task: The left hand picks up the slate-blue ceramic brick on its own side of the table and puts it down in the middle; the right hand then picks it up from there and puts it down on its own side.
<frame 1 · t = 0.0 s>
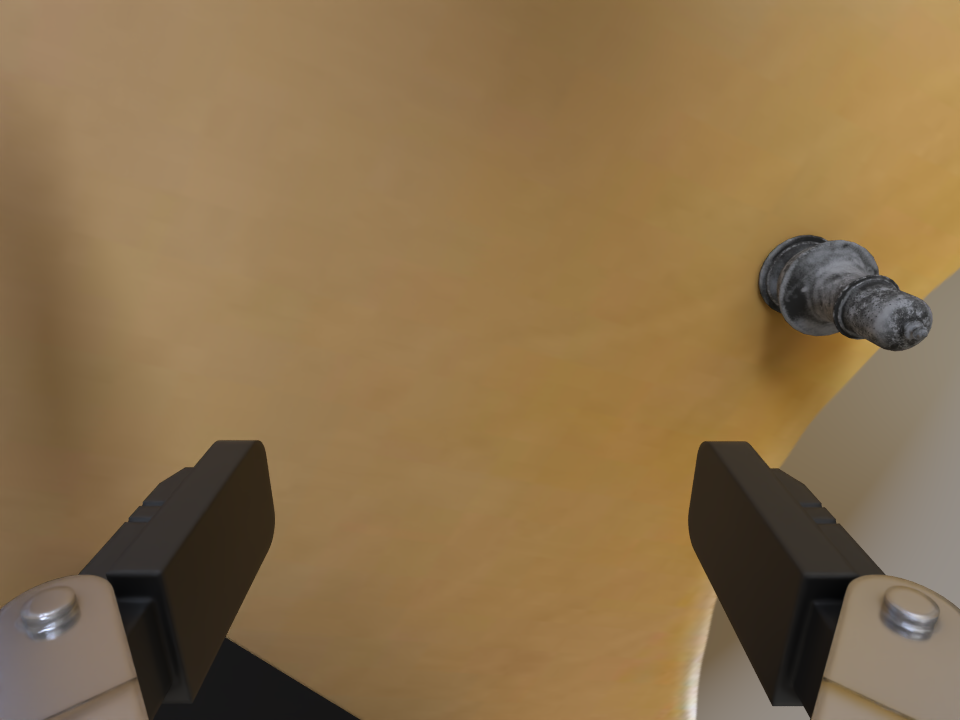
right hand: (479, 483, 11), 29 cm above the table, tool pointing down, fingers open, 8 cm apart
grey chess piece: (798, 275, 40), on the table
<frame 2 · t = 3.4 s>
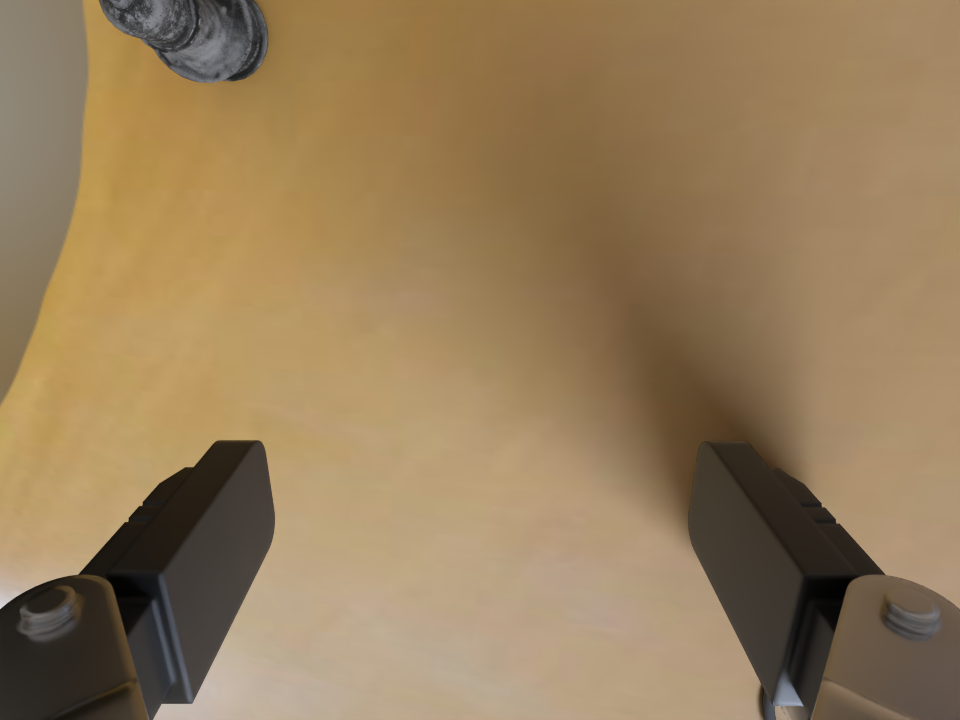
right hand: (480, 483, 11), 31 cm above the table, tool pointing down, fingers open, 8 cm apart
grey chess piece: (224, 33, 36), on the table
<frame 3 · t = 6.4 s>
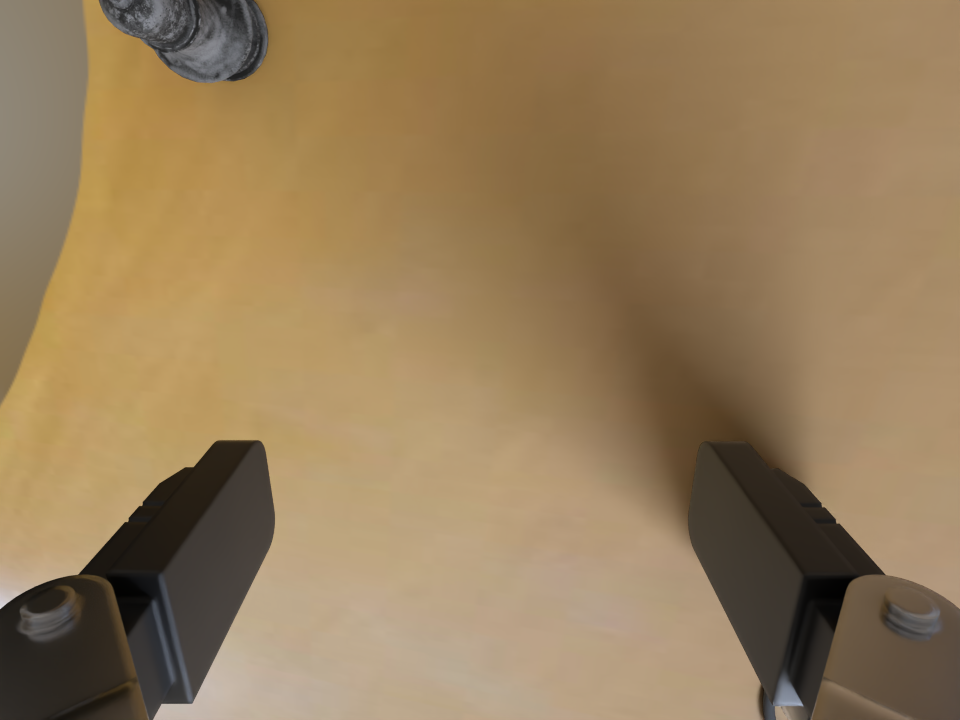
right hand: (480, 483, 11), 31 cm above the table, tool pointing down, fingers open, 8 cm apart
grey chess piece: (224, 33, 36), on the table
when the left hand's fingers open (2 cm above the table, at t = 9.6 s): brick stays where it is, on the table.
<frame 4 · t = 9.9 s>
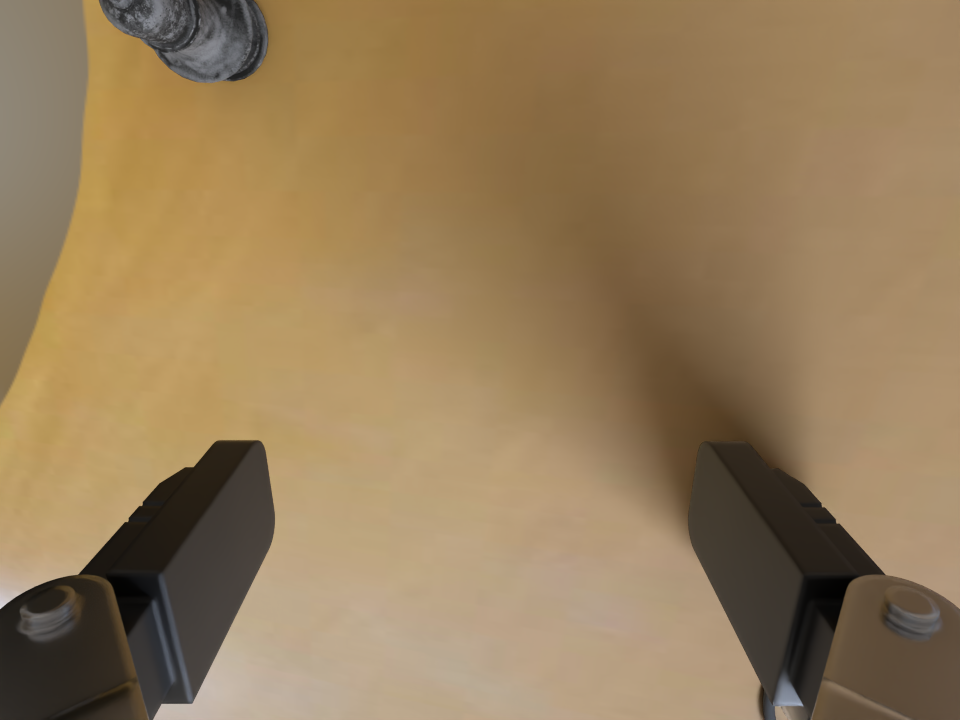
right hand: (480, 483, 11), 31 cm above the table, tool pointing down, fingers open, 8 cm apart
grey chess piece: (224, 33, 36), on the table
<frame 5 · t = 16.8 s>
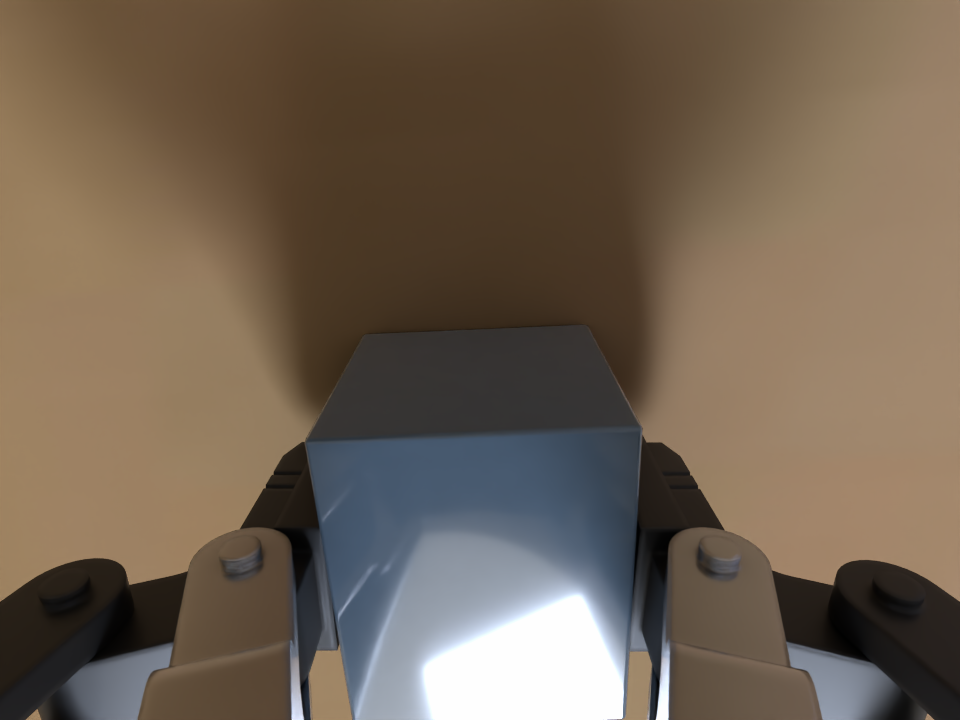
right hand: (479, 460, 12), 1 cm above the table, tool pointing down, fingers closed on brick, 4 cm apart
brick: (481, 447, 12), on the table, touching right hand
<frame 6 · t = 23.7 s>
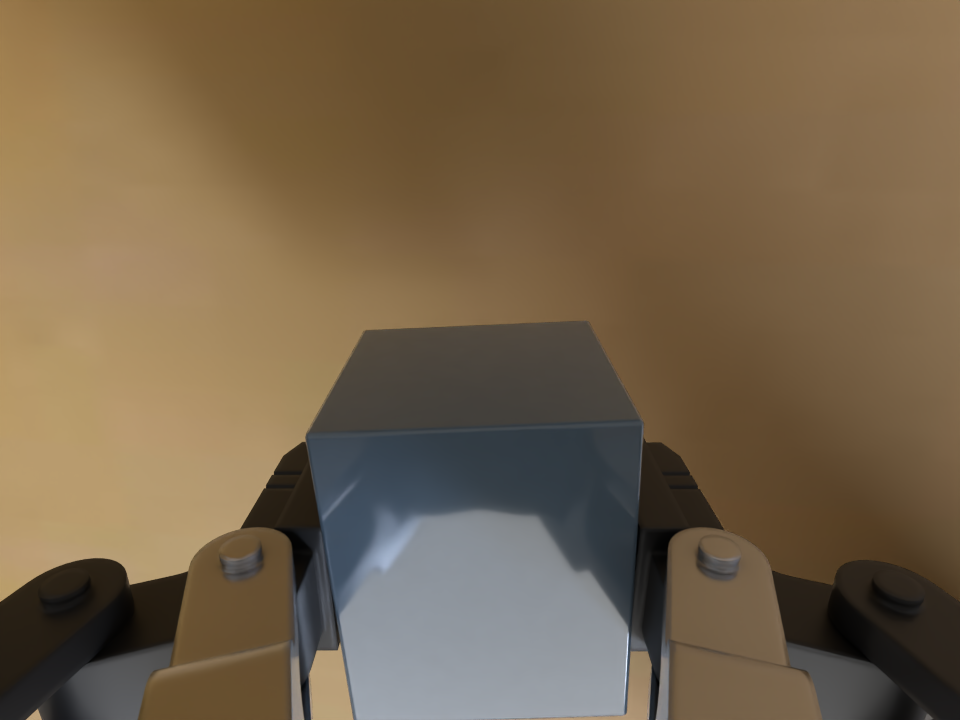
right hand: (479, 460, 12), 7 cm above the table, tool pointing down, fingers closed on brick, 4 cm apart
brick: (481, 444, 12), point 6 cm above the table, tilted 5°, touching right hand
when the right hand's fingers open (1 cm above the table, at t = 30.6 s): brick stays where it is, on the table.
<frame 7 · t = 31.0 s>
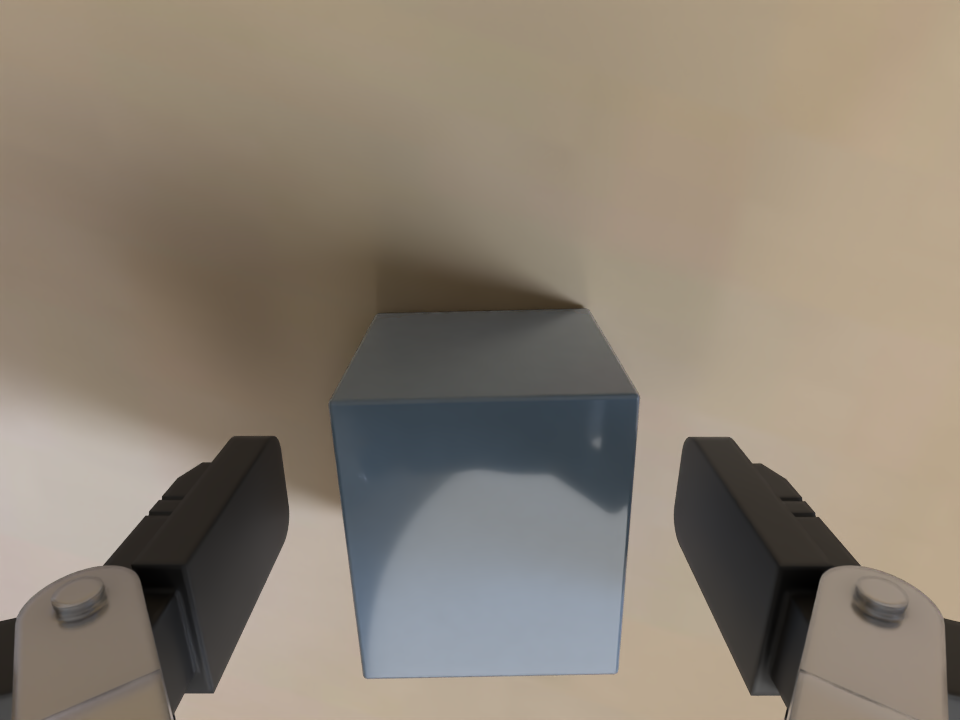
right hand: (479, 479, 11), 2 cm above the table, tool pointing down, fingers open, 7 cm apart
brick: (485, 424, 13), on the table
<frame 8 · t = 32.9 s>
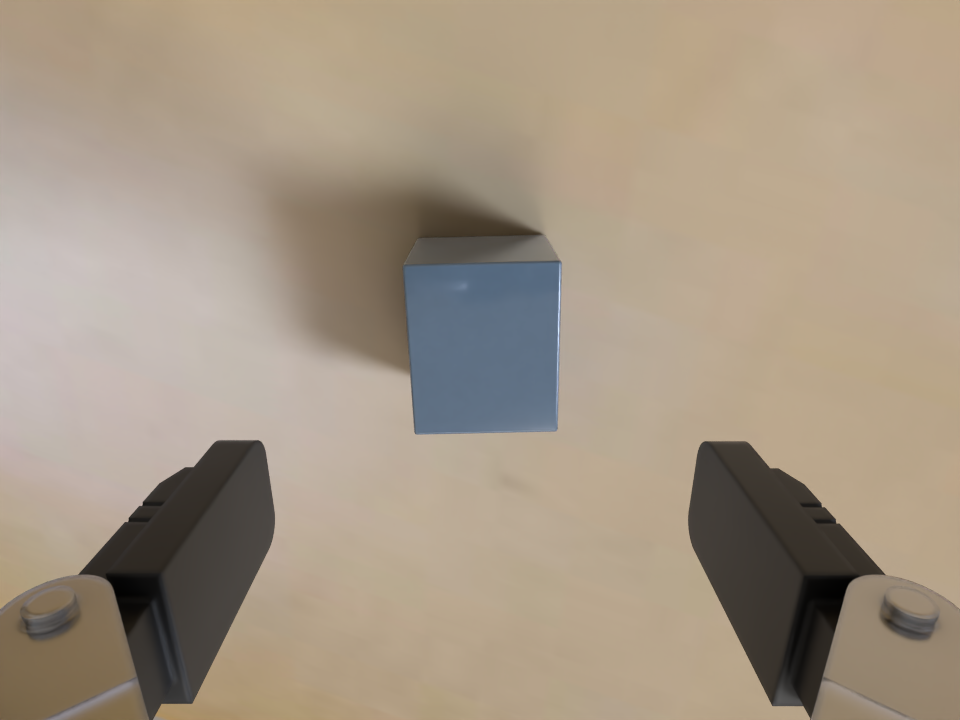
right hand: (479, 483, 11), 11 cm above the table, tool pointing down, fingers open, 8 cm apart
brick: (483, 310, 21), on the table
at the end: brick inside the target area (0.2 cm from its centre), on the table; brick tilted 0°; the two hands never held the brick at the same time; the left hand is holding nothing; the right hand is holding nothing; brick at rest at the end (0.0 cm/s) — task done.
